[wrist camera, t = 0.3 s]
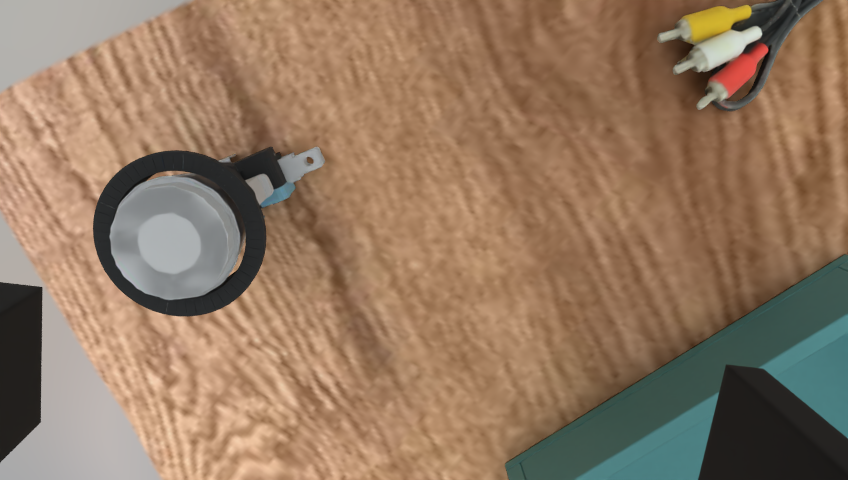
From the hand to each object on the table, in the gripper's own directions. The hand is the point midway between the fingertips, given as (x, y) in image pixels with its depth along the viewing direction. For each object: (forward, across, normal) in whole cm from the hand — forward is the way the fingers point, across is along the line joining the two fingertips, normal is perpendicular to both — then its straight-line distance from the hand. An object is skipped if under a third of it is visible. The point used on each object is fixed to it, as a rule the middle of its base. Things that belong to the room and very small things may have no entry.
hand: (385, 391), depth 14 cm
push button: (+19, -6, 0) cm, 20 cm away
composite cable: (+19, +15, +10) cm, 26 cm away
